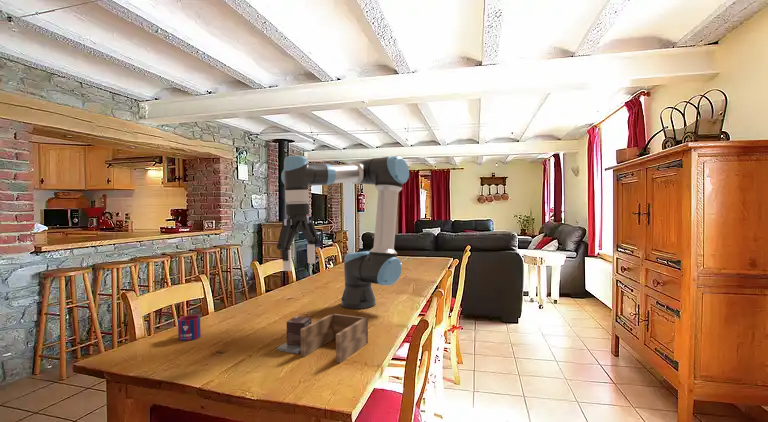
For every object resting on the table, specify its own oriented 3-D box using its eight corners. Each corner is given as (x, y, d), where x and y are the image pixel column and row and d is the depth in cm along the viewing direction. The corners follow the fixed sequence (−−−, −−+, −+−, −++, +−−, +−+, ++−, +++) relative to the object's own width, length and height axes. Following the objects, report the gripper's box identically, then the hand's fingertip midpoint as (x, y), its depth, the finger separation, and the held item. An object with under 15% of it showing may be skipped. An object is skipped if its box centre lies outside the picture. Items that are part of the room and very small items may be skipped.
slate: (301, 337, 128) (301, 334, 128) (321, 340, 125) (321, 338, 125) (277, 350, 117) (277, 347, 117) (298, 353, 114) (298, 351, 114)
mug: (175, 341, 126) (174, 321, 126) (186, 331, 136) (186, 312, 136) (196, 340, 127) (195, 320, 126) (206, 330, 137) (206, 311, 136)
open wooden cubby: (332, 337, 128) (332, 313, 127) (368, 342, 122) (367, 317, 122) (300, 356, 112) (300, 329, 112) (339, 363, 106) (339, 334, 106)
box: (304, 346, 117) (304, 322, 117) (286, 345, 119) (285, 321, 119) (312, 339, 123) (312, 317, 123) (295, 338, 125) (294, 316, 124)
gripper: (309, 202, 140) (311, 259, 141) (262, 204, 117) (266, 273, 118) (326, 201, 137) (329, 260, 138) (283, 204, 114) (286, 275, 115)
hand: (300, 266), depth 128 cm, fingers open, 13 cm apart
